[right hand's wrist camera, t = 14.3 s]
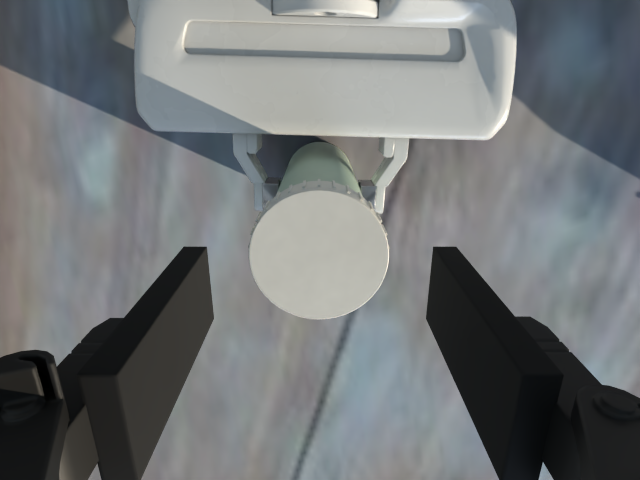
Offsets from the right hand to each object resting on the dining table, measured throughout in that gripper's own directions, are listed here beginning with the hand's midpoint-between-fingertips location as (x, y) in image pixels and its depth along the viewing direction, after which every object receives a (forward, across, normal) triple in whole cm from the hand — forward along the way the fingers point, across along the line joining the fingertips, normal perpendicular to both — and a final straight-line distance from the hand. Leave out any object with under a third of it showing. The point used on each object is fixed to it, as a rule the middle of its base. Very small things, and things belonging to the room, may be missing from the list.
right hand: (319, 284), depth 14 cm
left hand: (+12, 0, -1) cm, 12 cm away
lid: (+3, 0, 0) cm, 3 cm away
